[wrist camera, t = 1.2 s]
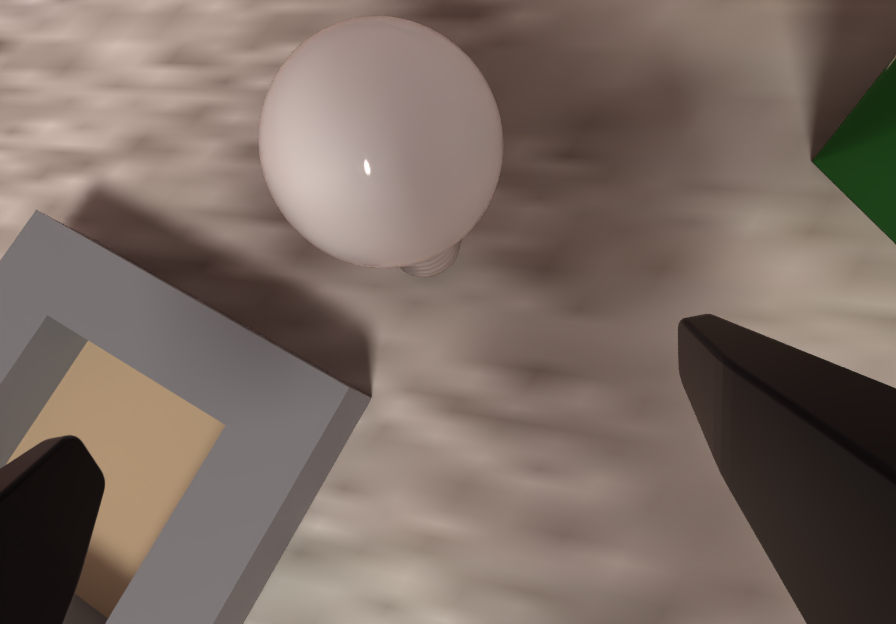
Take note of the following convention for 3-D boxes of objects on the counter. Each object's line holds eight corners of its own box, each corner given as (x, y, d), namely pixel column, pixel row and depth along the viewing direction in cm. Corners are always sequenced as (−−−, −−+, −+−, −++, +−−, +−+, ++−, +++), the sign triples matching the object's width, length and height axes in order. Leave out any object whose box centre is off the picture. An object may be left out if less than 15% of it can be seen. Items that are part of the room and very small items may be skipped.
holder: (159, 769, 20) (100, 819, 18) (-120, 546, 24) (-210, 557, 21) (371, 398, 23) (349, 387, 20) (91, 238, 26) (36, 209, 23)
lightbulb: (539, 218, 24) (553, 15, 13) (455, 359, 23) (396, 264, 12) (402, 149, 25) (314, -84, 14) (317, 279, 24) (156, 132, 14)
